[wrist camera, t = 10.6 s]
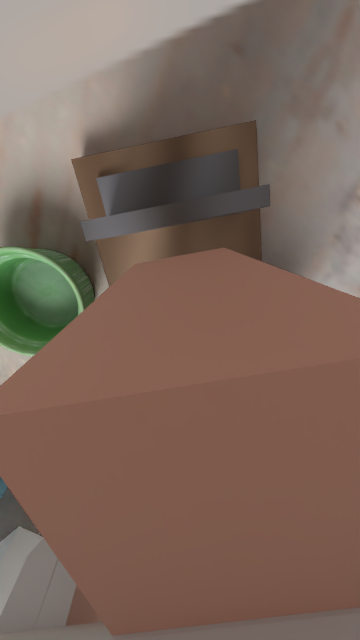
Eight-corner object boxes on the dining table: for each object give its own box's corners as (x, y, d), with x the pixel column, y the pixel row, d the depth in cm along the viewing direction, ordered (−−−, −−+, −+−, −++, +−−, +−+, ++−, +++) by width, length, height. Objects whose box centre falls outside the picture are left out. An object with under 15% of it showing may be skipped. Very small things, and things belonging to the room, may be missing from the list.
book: (223, 247, 10) (474, 340, 2) (242, 442, 14) (336, 731, 6) (135, 263, 10) (-40, 420, 2) (180, 451, 15) (189, 746, 6)
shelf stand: (247, 131, 17) (693, -472, 2) (260, 386, 26) (372, 595, 11) (82, 166, 18) (-377, -134, 3) (150, 403, 27) (117, 621, 12)
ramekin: (40, 346, 24) (12, 370, 20) (-17, 265, 21) (-65, 274, 17) (117, 317, 23) (104, 336, 19) (68, 226, 20) (40, 226, 16)
